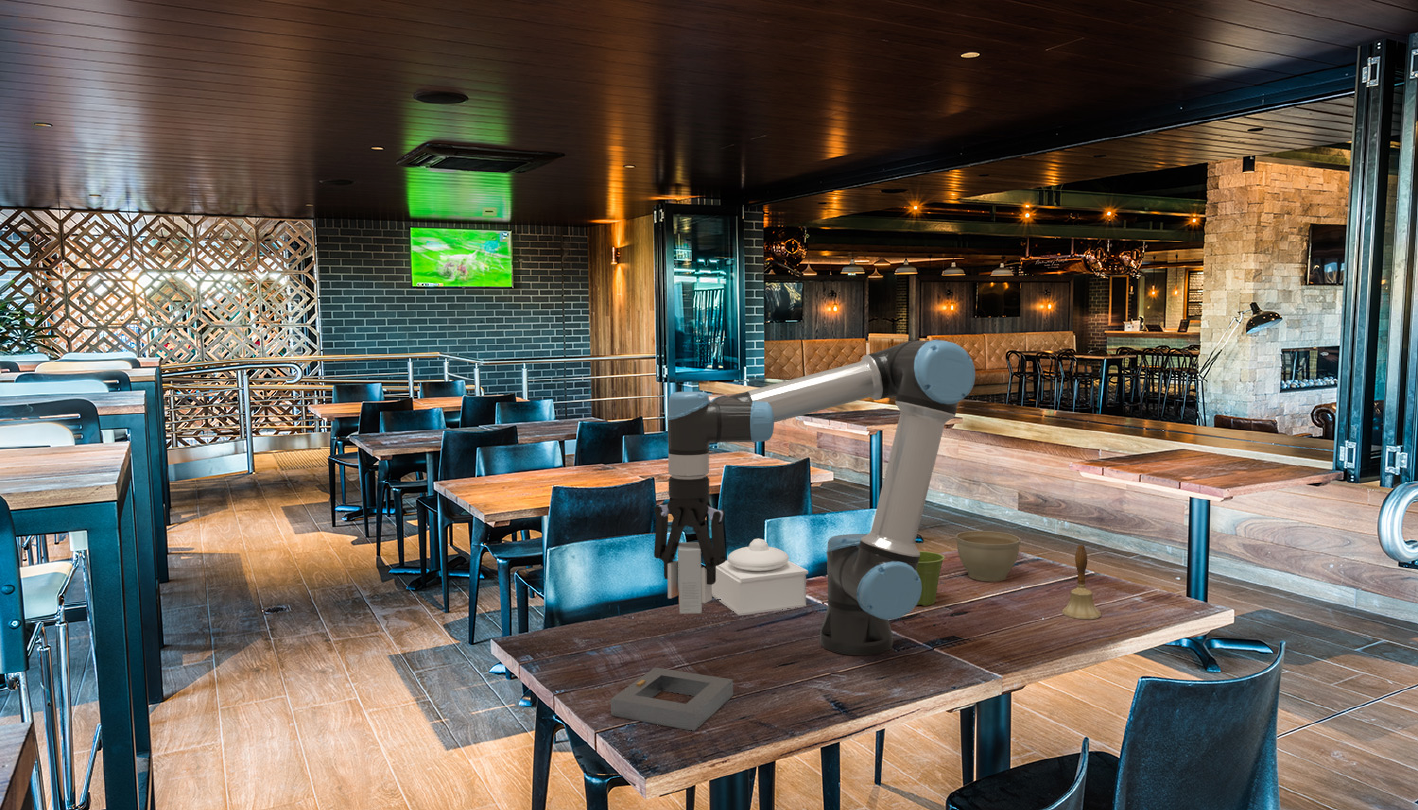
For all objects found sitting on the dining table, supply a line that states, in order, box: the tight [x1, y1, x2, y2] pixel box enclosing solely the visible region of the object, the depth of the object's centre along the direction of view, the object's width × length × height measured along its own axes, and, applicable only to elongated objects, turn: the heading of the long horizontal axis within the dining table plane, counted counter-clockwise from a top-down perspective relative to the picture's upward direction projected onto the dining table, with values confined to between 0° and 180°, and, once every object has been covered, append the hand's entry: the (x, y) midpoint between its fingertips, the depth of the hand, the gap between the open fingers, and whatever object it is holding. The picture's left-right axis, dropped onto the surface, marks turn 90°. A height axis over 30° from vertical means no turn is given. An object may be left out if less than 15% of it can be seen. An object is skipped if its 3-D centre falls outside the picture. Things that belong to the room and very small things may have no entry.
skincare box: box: [677, 541, 703, 615], centre depth 169 cm, size 6×4×12 cm
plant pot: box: [916, 550, 946, 607], centre depth 219 cm, size 12×12×11 cm
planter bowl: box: [955, 530, 1021, 583], centre depth 239 cm, size 16×16×11 cm
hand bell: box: [1061, 544, 1102, 620], centre depth 207 cm, size 8×8×16 cm
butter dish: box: [712, 538, 809, 616], centre depth 223 cm, size 18×18×16 cm
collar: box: [610, 667, 734, 732], centre depth 161 cm, size 16×16×3 cm
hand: (689, 598), depth 170 cm, fingers closed on skincare box, 6 cm apart
